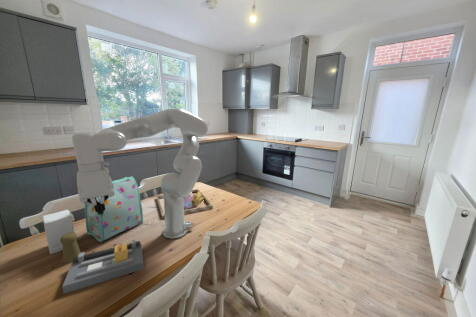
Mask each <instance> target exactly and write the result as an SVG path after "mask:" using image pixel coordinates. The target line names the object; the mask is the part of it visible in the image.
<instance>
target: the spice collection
mask: <svg viewBox="0 0 476 317" xmlns="http://www.w3.org/2000/svg"><path fill="white" fill-rule="evenodd" d="M201 194H203V192H202V191H201V190H199V191H198V192H197V193H196V194H195V193H192V192H191V193H190V194H189V195H188V196H186V197H183V198H184V210H187V209H192V208H193V207H194V208H196V207H200V206H199V205H200V204H202V203H201V202H202V201H203V200H204V197H202V195H201Z"/></svg>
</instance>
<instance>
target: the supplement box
mask: <svg viewBox="0 0 476 317" xmlns="http://www.w3.org/2000/svg"><path fill="white" fill-rule="evenodd" d="M42 222H43V227H44V233H45V237H46V242H47V245H48V246H47V247H48V250H49V254H50V255H52V254H55V253H58V252H61V251H62V252H63V244H62V243H61V242H60V238H61V237H62V236H63V235H64V234H67V233H71V232H74V233H75V229H74V223H73V217H72V214H71V212H70V211H69V209H64V210H61V211H58V212H54V213H50V214H45V215H42Z"/></svg>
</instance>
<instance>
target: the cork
mask: <svg viewBox="0 0 476 317" xmlns="http://www.w3.org/2000/svg"><path fill="white" fill-rule="evenodd" d="M77 238H78V234H77V233H76V232H75V231H74V232H71V233H67V234H64V235H63V236H62V237H61V238H60V242H61V243H62V244H63V250H62V263H63V264H70V263H71V264H72V262H73V258H74V257H78V255H79V253H82V252H81V250H80V247H79V244H78V242H77Z"/></svg>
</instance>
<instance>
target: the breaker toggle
mask: <svg viewBox="0 0 476 317" xmlns="http://www.w3.org/2000/svg"><path fill="white" fill-rule="evenodd" d="M127 244H128V243H124V244H123V243H119V244H118V245H115V246H114V247H115V251H114V254H115V262H120V261H123V260H127V259H128V250H127Z"/></svg>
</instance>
